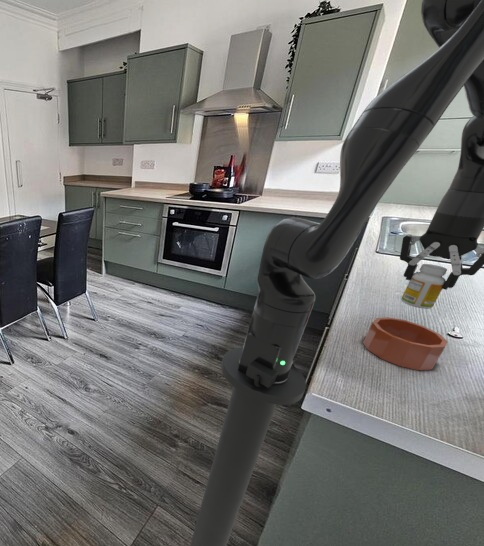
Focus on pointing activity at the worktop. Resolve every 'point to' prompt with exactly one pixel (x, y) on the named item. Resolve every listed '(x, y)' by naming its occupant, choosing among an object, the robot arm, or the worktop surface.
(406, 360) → the pot
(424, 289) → the supplement bottle
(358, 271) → the worktop surface
